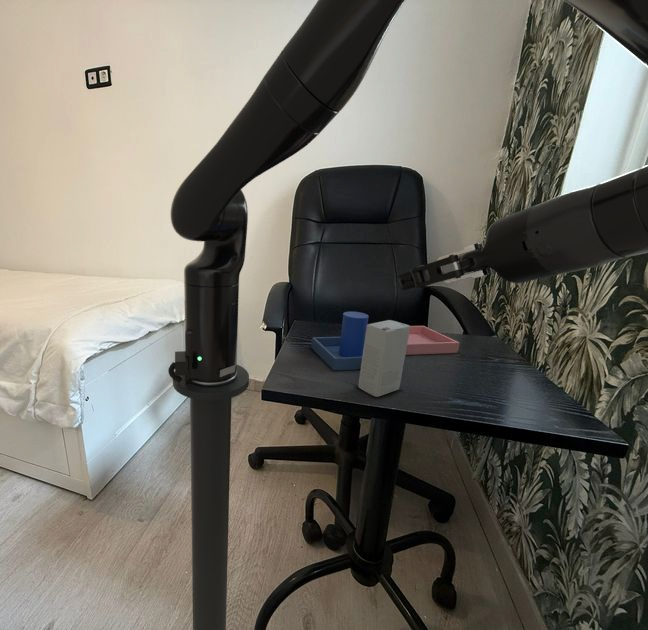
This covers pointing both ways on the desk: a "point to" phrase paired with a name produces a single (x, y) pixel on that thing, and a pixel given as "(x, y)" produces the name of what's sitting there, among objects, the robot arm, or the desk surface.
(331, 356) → the blue tray
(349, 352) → the blue canister
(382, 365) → the cosmetic box
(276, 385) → the desk surface
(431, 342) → the rose tray
